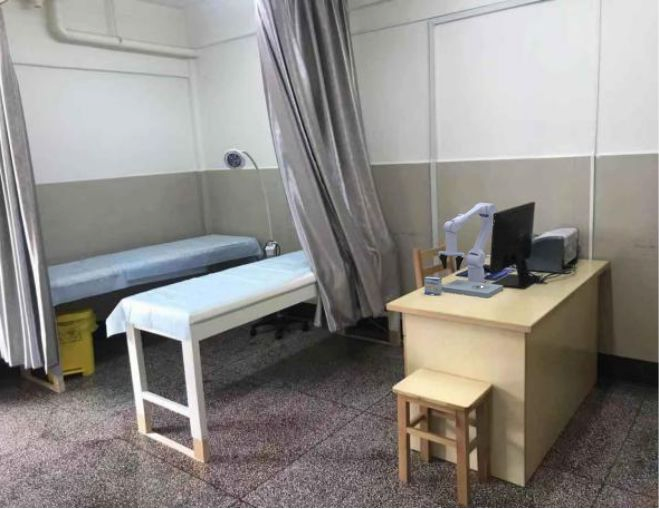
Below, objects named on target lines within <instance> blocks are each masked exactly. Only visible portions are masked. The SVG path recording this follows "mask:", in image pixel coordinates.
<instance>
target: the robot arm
mask: <svg viewBox="0 0 659 509" xmlns="http://www.w3.org/2000/svg"><path fill="white" fill-rule="evenodd" d="M497 211H498V209H497V206H496V204H495V203H489V202H488V203H487V202H478V203H477V204H475V205H474V206H473V207H472V208H471V209H469V211H467V212H466V213H459V214H458V215H457V216H456V217H454V218H452V219H451V220H448V221H446V222H445V223H444V224H443V226H442V229H443V231H444V234H445V250H444V251H443V250H439V251H438V252H437V254H438V258H439V260H440V262H441V264H442V267H443V270H446V269H447V267H448V264H447V260H448V257H454V259H455V262H456V267H455V268H456V271H460V270H461V266H462V263H463V261H464V262H465V265H466V266H467V281H472V282H480V283H486V282H485V281H486V280H485V269H484V265H485V263H486V257H487V256H486V253H485V252H484V251H485V248H486V245H487V244H488V241H489V237H490V234H491V232H492V229H493V227H492V226H494V224H493V214H494V213H496V214H497ZM476 216H479V217H480V218H481V219H482V221H483V222H482V224H481V226H480V229H479V232H478V234H477V238H476V240H475V243H474V245H473V247H472V248H471V249H470V250H469V251H468V253H467V254H465V253H466V252H465V253H464V252H460V251H459V252H458V235H457V234H458V232H459V231H460V228H462V227H463V226H466V225H467V224H468V221H469V220H470V219H472V218H475V217H476Z"/></svg>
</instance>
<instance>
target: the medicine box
mask: <svg viewBox="0 0 659 509" xmlns="http://www.w3.org/2000/svg"><path fill="white" fill-rule="evenodd" d="M442 279H443V278H442V277H437V276H426V277H424V294H425V295H426V294H435V295H434V296H440V295H441V293H443V292H442V286H443V285H442V281H443V280H442Z"/></svg>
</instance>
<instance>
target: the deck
mask: <svg viewBox="0 0 659 509" xmlns="http://www.w3.org/2000/svg"><path fill="white" fill-rule="evenodd" d="M481 285H483V286H485V288H483V289H480V288H479V287H480V286H481ZM501 290H502V291H504V285H503V284H497V283H496V284H494V283H486V282H483V283H480V282H472V281H468V280H462V279H455V280H453V281H451V282H448V283H446V284H444V285H442V291H444V292H443V293H447V292H449V294H455V293H456V295H462V294H464V295H463V296H469V295H470V297H476V296H477V298H483V297H485V298H484V299H489V298H491V297H493V296H495V295H496V293H497V294H499V293H500V292H499V291H501ZM502 291H501V292H502ZM498 292H499V293H498ZM494 294H495V295H494ZM492 295H493V296H492Z"/></svg>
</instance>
